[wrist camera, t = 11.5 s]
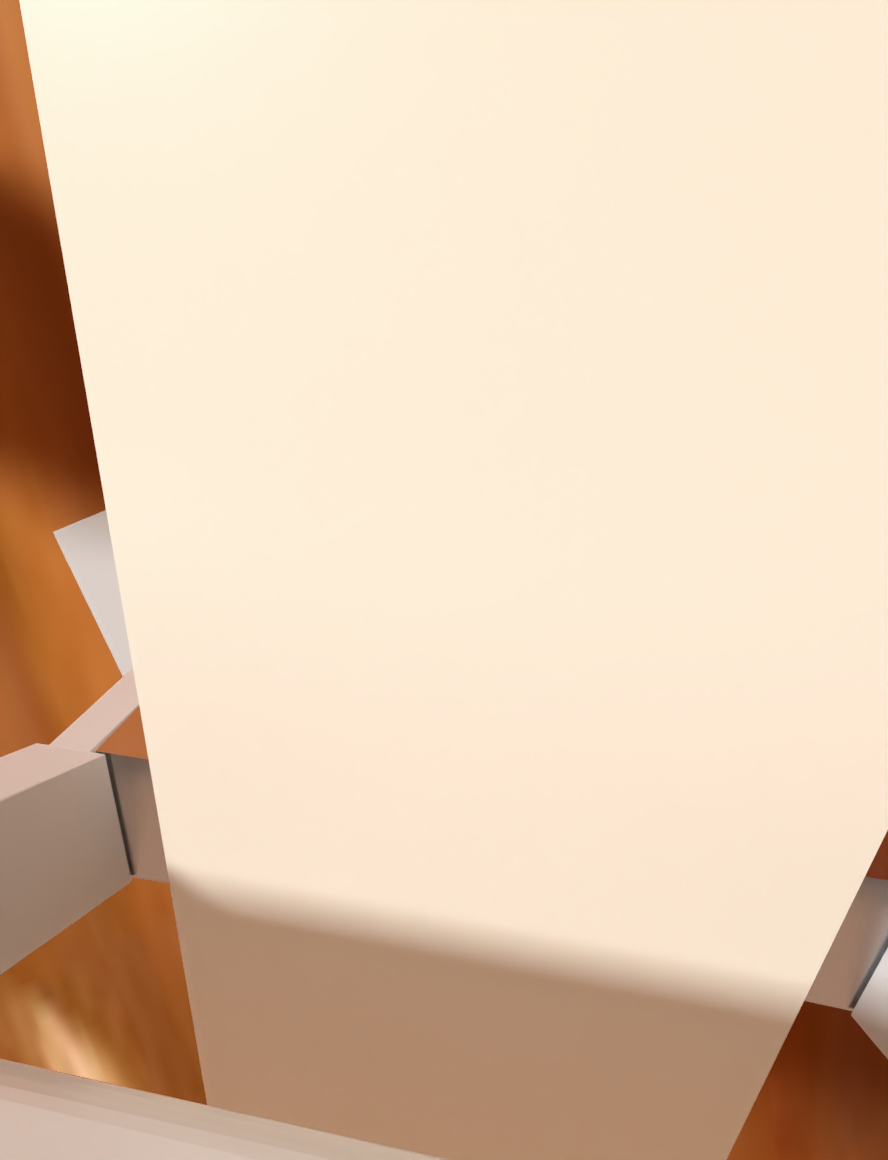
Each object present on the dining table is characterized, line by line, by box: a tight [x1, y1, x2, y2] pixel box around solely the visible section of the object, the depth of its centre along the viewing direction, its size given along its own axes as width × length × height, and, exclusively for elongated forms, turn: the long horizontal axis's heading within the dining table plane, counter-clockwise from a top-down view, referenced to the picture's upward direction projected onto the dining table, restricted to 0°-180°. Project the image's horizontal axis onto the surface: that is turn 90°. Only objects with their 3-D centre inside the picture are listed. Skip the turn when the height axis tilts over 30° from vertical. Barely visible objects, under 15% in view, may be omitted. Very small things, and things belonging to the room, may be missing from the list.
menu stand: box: [19, 0, 888, 1160], centre depth 8 cm, size 5×7×16 cm
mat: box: [53, 510, 133, 677], centre depth 20 cm, size 20×14×1 cm
